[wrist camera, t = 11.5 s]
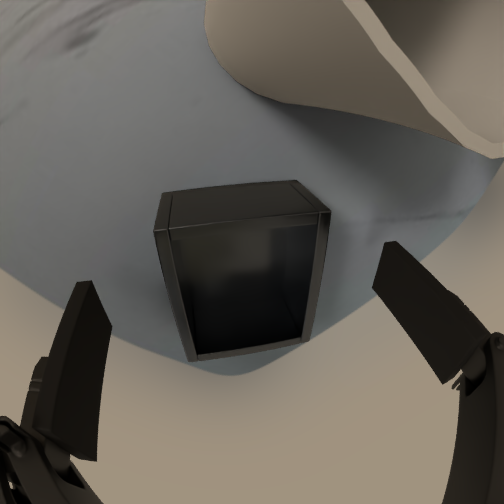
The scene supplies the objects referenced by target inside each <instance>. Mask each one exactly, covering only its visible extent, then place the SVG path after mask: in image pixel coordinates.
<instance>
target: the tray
mask: <svg viewBox="0 0 504 504" xmlns="http://www.w3.org/2000/svg"><path fill="white" fill-rule="evenodd" d="M330 219H331V210H330V209H329V208H328V207H327V206H326V205H324V204H323V203H322V202H321V201H320V200H319V199H318V198H317V197H315V196H314V195H313V194H312V193H311V192H310V191H309V190H307V189H306V188H305V187H304V186H303V185H302V184H301V183H299V182H298V181H297V180H289V181H273V182H259V183H246V184H235V185H225V186H215V187H206V188H197V189H189V190H181V191H173V192H166V193H162V195H161V199H160V203H159V207H158V212H157V216H156V221H155V225H154V230H153V233H154V237H155V242H156V247H157V251H158V256H159V260H160V264H161V268H162V273H163V277H164V281H165V285H166V288H167V292H168V296H169V300H170V303H171V307H172V311H173V314H174V318H175V321H176V324H177V328H178V331H179V334H180V338H181V341H182V344H183V347H184V350H185V353H186V356H187V359H188V362H196V361H198V360H199V361H204V360H211V359H218V358H225V357H231V356H238V355H244V354H249V353H255V352H261V351H266V350H271V349H276V348H281V347H286V346H290V345H295V344H299V343H304V342H308V341H309V340H310V336H311V331H312V326H313V322H314V317H315V312H316V306H317V301H318V296H319V290H320V285H321V279H322V273H323V267H324V261H325V254H326V248H327V241H328V234H329V227H330Z"/></svg>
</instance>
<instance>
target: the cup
mask: <svg viewBox="0 0 504 504" xmlns="http://www.w3.org/2000/svg"><path fill="white" fill-rule="evenodd" d="M204 27H205V31H206V35H207V39H208V44H209V47H210V48H211V50H212V52H213V54H214V55H215V57H216V59H217V60H218V62H219V64H220V65H221V66H222V67H223V68H224V69H225V70H226V71H227V72H228V73H229V74H230V75H231V76H232V77H233V78H234V79H235V80H236V81H237V82H238V83H240V84H242V85H243V86H245V87H247V88H248V89H250V90H251V91H253V92H255V93H256V94H259V95H262V96H265V97H268V98H271V99H273V100H276V101H279V102H282V103H289V104H298V105H306V106H313V107H320V108H326V109H332V110H338V111H343V112H348V113H353V114H358V115H363V116H367V117H371V118H376V119H380V120H384V121H388V122H391V123H395V124H399V125H402V126H406V127H409V128H412V129H416V130H419V131H422V132H425V133H428V134H431V135H434V136H437V137H440V138H442V139H445V140H448V141H451V142H453V143H456V144H458V145H461V146H463V147H466V148H468V149H470V150H473V151H475V152H477V153H480V154H482V155H484V156H486V157H488V158H491V159H494V158H500V157H504V0H206V8H205V18H204Z"/></svg>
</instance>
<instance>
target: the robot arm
mask: <svg viewBox="0 0 504 504" xmlns="http://www.w3.org/2000/svg"><path fill="white" fill-rule="evenodd" d="M372 288H373V290H374V291H375V292H376V293H377V295H378V296H379V297H380V298H381V299H382V301H383V302H384V304H385V305H386V306H387V307H388V309H389V310H390V311H391V313H392V314H393V315H394V317H395V318H396V319H397V321H398V322H399V323H400V325H401V326H402V327H403V329H404V330H405V331H406V332H407V334H408V335H409V337H410V338H411V339H412V341H413V342H414V344H415V345H416V346H417V348H418V349H419V351H420V352H421V354H422V355H423V356H424V357H425V359H426V360H427V362H428V364H429V365H430V367H431V368H432V369H433V371H434V372H435V374H436V375H437V377H438V378H439V380H440V381H441V383H442V384H444V383H446V382H448V381H449V380H451V379H452V378H454V377H455V375H456V374H457V373H458V372H459V371H460V369H461V370H462V371H463V373H462V374H461V375H460V377H459V378H458V379H457V380H456V381H455V382H454V384H453V385H452V389H454V388H455V387H456V386H457V385H458V384H459V383H460V385H459V386H458V387H457V389H456V390H460V400H459V415H458V426H457V434H456V441H455V449H454V454H453V460H452V465H451V470H450V475H449V479H448V484H447V488H446V491H445V495H444V499H443V502H442V504H504V335H503V334H501V333H499V332H494V333H492V334H491V333H490V332H489V331H488V330H487V329H486V328H485V326H484V325H483V324H482V323H481V322H480V321H479V320H478V318H477V317H476V316H475V315H474V314H473V313H472V312H471V311H470V310H469V308H468V307H467V306H466V305H464V303H463V302H462V301H461V300H460V299H459V297H458V296H456V295H455V294H453V293H452V292H450V291H449V290H447V289H446V288H445V287H444V286H443V285H442V284H441V283H440V282H439V281H438V280H437V279H436V278H435V277H434V276H433V275H432V274H431V273H430V272H429V271H428V270H427V269H426V268H425V267H424V266H423V265H422V264H420V263H419V262H418V261H417V260H416V259H415V258H414V257H413V256H412V255H411V254H410V253H409V252H408V251H407V250H405V249H404V248H403V247H402V246H401V245H400V244H399V243H398V242H397V241H392V242H385V243H384V246H383V250H382V254H381V258H380V261H379V265H378V269H377V272H376V276H375V279H374V282H373V286H372ZM111 331H112V325H111V323H110V321H109V319H108V316H107V314H106V312H105V310H104V308H103V306H102V303H101V301H100V299H99V297H98V294H97V292H96V290H95V287H94V285H93V282H92V280H91V281H82V282H77V283H76V285H75V287H74V289H73V292H72V294H71V296H70V299H69V301H68V304H67V306H66V309H65V311H64V314H63V317H62V319H61V322H60V324H59V327H58V330H57V333H56V335H55V338H54V341H53V344H52V347H51V350H50V353H49V357H41V359H40V360H39V362H38V363H37V364H36V366H35V368H34V371H33V375H32V378H31V380H32V381H31V382H30V385H29V391H28V393H27V397H26V401H25V405H24V410H23V415H22V420H21V424H20V426H18V425H17V424H16V423H14V422H13V421H12V420H11V419H9V418H8V417H6V416H0V504H103V503H102V502H101V500H100V499H99V498H98V497H97V495H96V494H95V493H94V492H93V490H92V489H91V488H90V486H89V485H88V484H87V482H86V481H85V480H84V478H83V477H82V475H81V474H80V473H79V471H78V469H77V468H76V467H75V465H74V464H73V463H72V462H71V461H70V454H71V455H73V456H75V457H76V458H78V459H82V460H88V461H97V439H98V424H99V412H100V402H101V393H102V385H103V377H104V371H105V364H106V358H107V352H108V347H109V341H110V336H111ZM8 481H9V482H11V483H12V485H13V489H11V488H10V485H9V482H8Z"/></svg>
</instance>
